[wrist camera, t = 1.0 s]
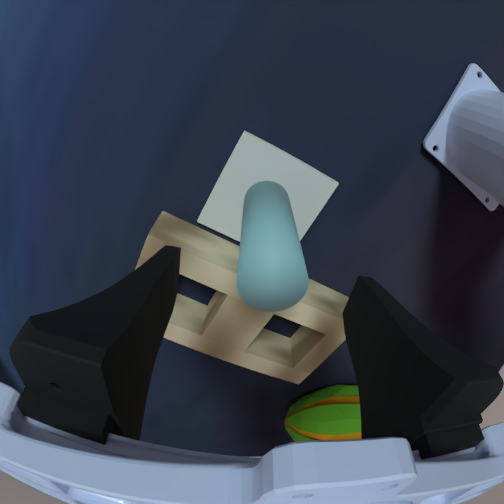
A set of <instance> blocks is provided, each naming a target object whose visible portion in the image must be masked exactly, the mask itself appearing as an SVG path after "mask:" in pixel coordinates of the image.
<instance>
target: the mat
mask: <svg viewBox="0 0 504 504" xmlns="http://www.w3.org/2000/svg"><path fill="white" fill-rule="evenodd" d="M261 181H273V182H276V183H278V184H280V185H281V186H282V187H283V188H284V189H285V190H286V191H287V193H288V196H289V200H290V204H291V208H292V212H293V216H294V220H295V224H296V228H297V232H298V236H299V240H301V239H302V238H303V236H304V235H305V233H306V232H307V230H308V229H309V227H310V226H311V224H312V223H313V221H314V220H315V219H316V217H317V216H318V214H319V213H320V211H321V210H322V208H323V207H324V205H325V204H326V202H327V201H328V199H329V198H330V196H331V195H332V193H333V192H334V190H335V189H336V187H337V186H338V184H339V183H338V182H337V181H335V180H333V179H332V178H330V177H328V176H327V175H325V174H323V173H321V172H320V171H318V170H316V169H315V168H313V167H311V166H309V165H308V164H306V163H304V162H302V161H301V160H299V159H297V158H295V157H293V156H292V155H290V154H288V153H286V152H284V151H283V150H281V149H279V148H277V147H275V146H273V145H271V144H270V143H268V142H266V141H264V140H262V139H260V138H258V137H256V136H254V135H252V134H250V133H248V132H246V131H244V132H243V134H242V136H241V138H240V139H239V141H238V143H237V145H236V147H235V149H234V150H233V152H232V154H231V156H230V158H229V160H228V162H227V163H226V165H225V167H224V169H223V171H222V173H221V175H220V177H219V179H218V181H217V182H216V184H215V186H214V188H213V190H212V192H211V194H210V196H209V198H208V200H207V202H206V204H205V206H204V208H203V210H202V212H201V214H200V216H199V218H198V220H197V222H198V223H200V224H203V225H205V226H207V227H209V228H211V229H213V230H215V231H218V232H220V233H222V234H224V235H226V236H228V237H230V238H233V239H235V240H237V241H239V242H240V238H241V226H242V215H243V204H244V197H245V194H246V192H247V190H248V189H249V188H250V187H251V186H252V185H254V184H255V183H257V182H261Z"/></svg>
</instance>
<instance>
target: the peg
mask: <svg viewBox="0 0 504 504" xmlns="http://www.w3.org/2000/svg"><path fill="white" fill-rule="evenodd" d="M308 284H309V280H308V274H307V270H306V266H305V261H304V257H303V253H302V248H301V244H300V240H299V236H298V232H297V228H296V224H295V220H294V216H293V212H292V208H291V204H290V200H289V196H288V193H287V191H286V190H285V189H284V188H283V187H282V186H281V185H280V184H278V183H276V182H273V181H261V182H257V183H255V184H254V185H252V186H251V187H250V188H249V189H248V190H247V192H246V194H245V197H244V204H243V215H242V226H241V238H240V249H239V261H238V273H237V290H238V293H239V295H240V296H241V298H242V299H243V300H244V301H245V302H246V303H247V304H248V305H250V306H251V307H253V308H255V309H258V310H262V311H268V312H274V311H281V310H285V309H288V308H290V307H292V306H294V305H295V304H297V303H298V302H299V301H300V300H301V299H302V298H303V297H304V295H305V293H306V291H307V289H308Z"/></svg>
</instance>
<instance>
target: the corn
mask: <svg viewBox="0 0 504 504" xmlns="http://www.w3.org/2000/svg"><path fill="white" fill-rule="evenodd" d="M284 422H285V429H286V430H287V432H288V433H289V435H290V436H291V437H292V439H293V440H294V441H295V442H299V441H310V440H352V439H361V412H360V400H359V391H358V385H333V386H328V387H324V388H322V389H319V390H317V391H315V392H313V393H310V394H308V395H306V396H304V397H302V398H301V399H299V400H298V401H297V402H296V403H294V404H293V405H292V406H291V407H290V409H289V410H288V412H287V414H286V416H285V421H284Z"/></svg>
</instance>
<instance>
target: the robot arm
mask: <svg viewBox="0 0 504 504" xmlns="http://www.w3.org/2000/svg"><path fill="white" fill-rule="evenodd" d="M477 73H479V77H478V76H477ZM435 145H436V150H435V151H433V147H434V146H435ZM423 147H424V148H425V149H426V150H427V151H428V152H429V153H430V154H431V155H432V156H434V157H435V158H436V159H437V160H438V161H439V162H440V163H442V164H443V165H444V166H445V167H446V168H447V169H448V170H449V171H450V172H451V173H452V174H453V175H455V176H456V177H457V178H458V179H459V180H460V181H461V182H462V183H463V184H464V185H465V186H466V187H467V188H468V189H469V190H470V191H471V192H472V193H473V194H474V195H475V196H476V197H477V198H478V199H479V200H480V201H481V202H482V203H483V204H484V205H485V206H486V208H487V209H489V210H490V211H494V210H495V209H496V208H497V206H498V205H499V204H501V205H502V206H503V207H504V93H502V92H500V90H499V89H498V88H497V87H496V86H495V84H494V83H493V82H492V81H491V80H490V79H489V77H488V76H487V75H486V74H485V73H484V72H483V71H482V69H481V68H480V67H479V66H478V65H477V64H474V63H471V64H469V65H468V67H467V69H466V71H465V72H464V74H463V76H462V78H461V79H460V81H459V83H458V85H457V86H456V88H455V90H454V92H453V93H452V95H451V97H450V98H449V100H448V102H447V103H446V105H445V107H444V108H443V110H442V112H441V113H440V115H439V117H438V118H437V120H436V121H435V123H434V125H433V126H432V128H431V129H430V131H429V133H428V134H427V136H426V137H425V139H424V141H423ZM486 198H487V200H486V201H485V199H486ZM180 255H181V247H175V246H169V245H165V246H164V247H162V248H161V249H160V250H159V251H158V252H157V253H155V254H154V255H153V256H152V257H151V258H149V259H148V260H147V261H146V262H145V263H143V264H142V265H141V266H140V267H138V268H137V269H136V270H134V271H133V272H132V273H130V274H129V275H128V276H126V277H125V278H123V279H122V280H120V281H119V282H117V283H116V284H114V285H112V286H111V287H109V288H107V289H105V290H104V291H102V292H100V293H98V294H96V295H93V296H91V297H89V298H87V299H85V300H83V301H80V302H78V303H75V304H72V305H70V306H67V307H64V308H61V309H58V310H54V311H50V312H46V313H42V314H38V315H34V316H30V317H29V319H28V320H27V321H26V323H25V324H24V326H23V327H22V329H21V330H20V332H19V333H18V335H17V336H16V338H15V340H14V341H13V343H12V345H11V346H10V356H11V359H12V362H13V364H14V366H15V368H16V370H17V372H18V374H19V376H20V378H21V379H22V381H23V383H24V385H25V388H24V390H23V393H22V395H21V393H20V392H18V391H17V390H16V389H14V388H13V387H11V386H9V385H6V384H4V383H2V382H0V470H2V471H4V472H5V473H7V474H9V475H11V476H13V477H15V478H16V479H18V480H20V481H22V482H24V483H26V484H28V485H30V486H32V487H34V488H36V489H38V490H40V491H42V492H44V493H46V494H49V495H51V496H53V497H55V498H58V499H60V500H62V501H64V502H67V503H69V504H459V503H462V502H464V501H467V500H469V499H472V498H474V497H476V496H478V495H481V494H482V493H484V492H486V491H488V490H489V489H491V488H492V487H494V486H495V485H497V484H499V483H500V482H502V481H503V480H504V424H503V423H498V424H495V425H491V426H488V427H485V428H484V429H482V430H481V428H480V426H479V424H480V423H482V421H483V419H482V417H481V413H482V412H483V411H484V410H485V409H486V408H487V407H488V406H489V405H490V404H491V403H492V402H493V401H494V400H495V399H496V397H497V396H498V395H499V393H500V392H501V390H502V387H503V384H504V383H503V380H502V378H501V376H500V374H499V372H498V371H497V369H496V368H495V367H492V366H490V365H488V364H485V363H483V362H481V361H478V360H476V359H474V358H472V357H470V356H469V355H467V354H465V353H463V352H461V351H459V350H458V349H456V348H454V347H453V346H451V345H450V344H448V343H447V342H445V341H444V340H442V339H441V338H439V337H438V336H437V335H435V334H434V333H433V332H431V331H430V330H429V329H428V328H426V327H425V326H424V325H423V324H421V323H420V322H419V321H418V320H417V319H416V318H415V317H414V316H412V315H411V314H410V313H409V312H408V311H407V310H406V309H405V308H404V307H403V306H402V305H401V304H400V303H399V302H398V301H397V300H396V299H395V298H393V297H392V296H391V295H390V294H389V293H388V292H387V291H386V290H385V289H384V288H383V287H382V286H381V285H380V284H379V283H378V282H376V281H375V280H374V279H373V278H370V277H364V276H358V279H357V281H356V283H355V286H354V288H353V290H352V292H351V295H350V297H349V299H348V302H347V304H346V306H345V308H344V310H343V313H342V314H343V324H344V331H345V336H346V340H347V344H348V348H349V352H350V355H351V359H352V363H353V367H354V371H355V375H356V379H357V384H358V391H359V400H360V412H361V439H352V440H310V441H299V442H291V443H288V444H284V445H280V446H277V447H275V448H273V449H272V450H271V451H269V452H268V453H266V454H265V455H264V456H263V457H262V458H251V457H239V456H228V455H219V454H211V453H203V452H196V451H190V450H184V449H178V448H172V447H167V446H162V445H157V444H152V443H147V442H143V441H140V434H141V427H142V421H143V415H144V410H145V404H146V399H147V394H148V389H149V384H150V380H151V375H152V371H153V367H154V363H155V359H156V356H157V353H158V350H159V347H160V345H161V342H162V339H163V337H164V334H165V331H166V329H167V326H168V323H169V320H170V318H171V315H172V312H173V309H174V305H175V301H176V297H177V293H178V286H179V270H180Z"/></svg>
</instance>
